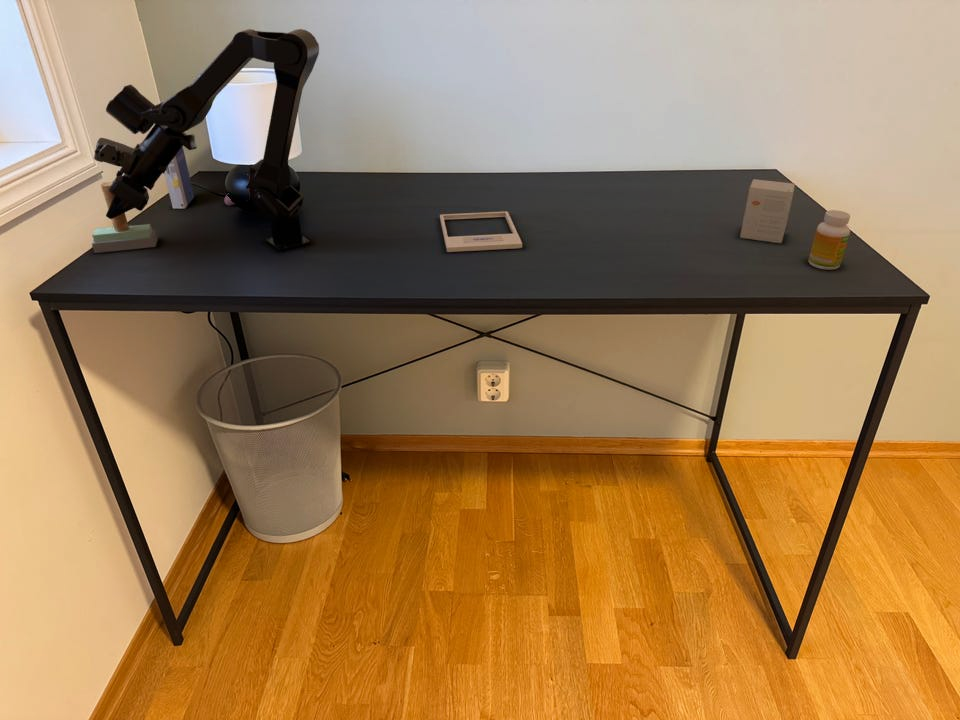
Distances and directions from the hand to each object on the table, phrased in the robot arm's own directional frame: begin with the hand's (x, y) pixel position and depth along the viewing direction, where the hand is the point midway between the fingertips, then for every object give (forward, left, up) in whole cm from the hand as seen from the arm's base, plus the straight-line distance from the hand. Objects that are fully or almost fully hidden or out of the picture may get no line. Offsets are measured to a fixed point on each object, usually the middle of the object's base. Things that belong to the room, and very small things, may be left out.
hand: (109, 214), depth 131 cm
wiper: (0, -1, -7) cm, 7 cm away
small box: (-73, -104, -7) cm, 128 cm away
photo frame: (-37, -60, -7) cm, 71 cm away
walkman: (+19, -18, -7) cm, 27 cm away
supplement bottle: (-88, -101, -7) cm, 135 cm away
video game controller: (+12, -30, -7) cm, 33 cm away
